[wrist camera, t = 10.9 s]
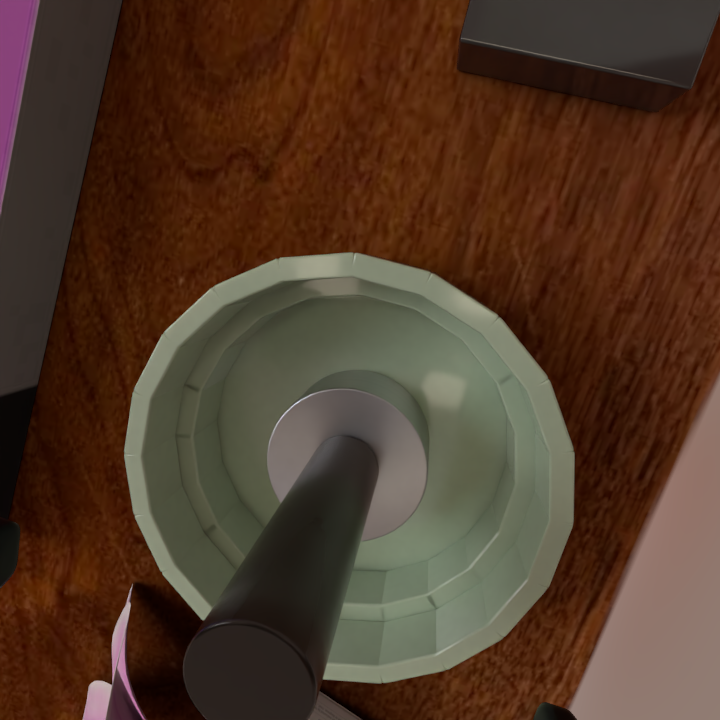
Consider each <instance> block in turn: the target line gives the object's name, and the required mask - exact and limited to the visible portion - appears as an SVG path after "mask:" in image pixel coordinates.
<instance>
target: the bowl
mask: <svg viewBox="0 0 720 720" xmlns="http://www.w3.org/2000/svg"><path fill="white" fill-rule="evenodd" d="M347 370H365V371H370V372H375V373H378V374H381V375H384V376H386V377H388V378H390V379H392V380H394V381H395V382H397V383H398V384H400V385H401V386H402V387H404V388H405V389H406V390H407V391H408V392H409V393H410V394H411V395H412V396H413V397H414V399H415V400H416V401H417V403H418V404H419V406H420V408H421V410H422V412H423V414H424V416H425V419H426V422H427V426H428V431H429V463H428V479H427V485H426V489H425V493H424V495H423V498H422V500H421V502H420V504H419V506H418V507H417V509H416V511H415V512H414V513H413V514H412V516H411V517H410V518H409V519H408V520H407V521H406V522H405V523H404V524H403V525H401V526H400V527H399V528H397V529H396V530H394V531H392V532H391V533H389V534H387V535H385V536H382V537H379V538H377V539H373V540H368V541H361V542H360V545H359V549H358V553H357V556H356V560H355V564H354V567H353V571H352V575H351V578H350V582H349V585H348V589H347V593H346V596H345V600H344V604H343V607H342V611H341V615H340V618H339V622H338V626H337V629H336V633H335V636H334V640H333V644H332V647H331V651H330V655H329V658H328V662H327V666H326V669H325V673H324V676H323V679H324V680H337V681H350V682H364V683H377V684H381V683H382V682H383V683H389V682H394V681H399V680H404V679H408V678H413V677H418V676H423V675H427V674H432V673H437V672H442V671H445V670H446V669H447V670H449V669H450V668H452V667H454V666H456V665H458V664H459V663H461V662H463V661H465V660H466V659H468V658H470V657H472V656H474V655H475V654H477V653H479V652H481V651H482V650H484V649H486V648H488V647H489V646H491V645H493V644H495V643H497V642H498V641H500V640H502V639H503V637H505V636H506V635H507V634H508V633H509V632H510V631H511V630H512V628H513V627H514V626H515V625H516V624H517V623H518V622H519V621H520V619H521V618H522V617H523V616H524V615H525V614H526V613H527V612H528V610H529V609H530V608H531V607H532V606H533V605H534V604H535V603H536V601H537V600H538V599H539V598H540V597H541V596H542V595H543V594H544V592H545V591H546V590H547V588H548V587H549V586H550V583H551V580H552V578H553V575H554V573H555V570H556V568H557V565H558V563H559V560H560V558H561V555H562V552H563V550H564V547H565V545H566V542H567V540H568V537H569V535H570V532H571V530H572V527H573V522H574V477H575V452H574V451H573V450H574V447H573V444H572V442H571V439H570V436H569V433H568V430H567V427H566V424H565V421H564V419H563V416H562V413H561V410H560V407H559V404H558V401H557V398H556V396H555V393H554V390H553V387H552V384H551V381H550V380H549V379H548V376H547V375H546V373H545V372H544V371H543V370H542V368H541V367H540V366H539V365H538V363H537V362H536V361H535V360H534V358H533V357H532V356H531V354H530V353H529V352H528V351H527V349H526V348H525V347H524V346H523V344H522V343H521V342H520V341H519V339H518V338H517V337H516V336H515V334H514V333H513V332H512V331H511V329H510V328H509V327H508V326H507V324H506V323H505V322H504V320H503V319H502V318H501V317H499V316H498V314H496V313H495V312H494V311H492V310H491V309H490V308H489V307H487V306H486V305H485V304H483V303H482V302H480V301H479V300H477V299H476V298H474V297H473V296H471V295H470V294H468V293H467V292H465V291H463V290H462V289H460V288H459V287H457V286H456V285H454V284H453V283H451V282H450V281H448V280H446V279H445V278H443V277H442V276H440V275H439V274H437V273H436V272H432V271H431V270H428V269H424V268H420V267H417V266H413V265H409V264H405V263H401V262H397V261H393V260H389V259H385V258H382V257H378V256H373V255H367V254H362V253H354V252H348V253H334V254H321V255H307V256H293V257H281V258H279V259H274V260H272V261H270V262H267V263H265V264H263V265H260V266H258V267H256V268H253V269H251V270H249V271H247V272H244V273H242V274H240V275H237V276H235V277H233V278H230V279H228V280H226V281H223V282H221V283H219V284H217V285H215V286H214V287H212V288H210V289H209V290H208V291H207V292H206V293H205V294H204V295H203V296H202V297H201V298H199V299H198V300H197V301H196V302H195V303H194V304H193V305H192V306H191V307H190V308H189V309H188V310H187V311H186V312H185V313H183V314H182V315H181V316H180V317H179V318H178V319H177V320H176V321H175V322H174V323H173V324H172V325H171V326H170V327H169V328H167V329H166V330H165V332H164V334H162V336H161V338H160V340H159V341H158V343H157V345H156V347H155V349H154V351H153V353H152V355H151V357H150V359H149V361H148V363H147V365H146V367H145V369H144V371H143V372H142V374H141V376H140V378H139V380H138V382H137V384H136V386H135V388H134V392H133V394H132V401H131V407H130V414H129V421H128V428H127V434H126V441H125V448H124V453H125V454H124V459H125V465H126V471H127V477H128V483H129V489H130V495H131V501H132V508H133V514H134V515H135V519H136V521H137V523H138V526H139V528H140V530H141V532H142V534H143V536H144V538H145V540H146V542H147V544H148V546H149V548H150V551H151V553H152V555H153V557H154V559H155V561H156V563H157V565H158V567H159V569H160V571H161V572H162V575H163V576H164V577H165V578H166V579H167V580H168V582H169V583H170V584H171V585H172V586H173V587H174V588H175V590H176V591H177V592H178V593H179V594H180V595H181V597H182V598H183V599H184V600H185V601H186V602H187V603H188V605H189V606H190V607H191V608H192V609H193V610H194V611H195V613H196V614H197V615H198V616H199V617H200V618H201V620H205V618H206V617H207V615H208V614H209V612H210V611H211V609H212V608H213V606H214V605H215V603H216V602H217V600H218V599H219V597H220V595H221V594H222V592H223V591H224V589H225V588H226V586H227V585H228V583H229V582H230V580H231V579H232V577H233V576H234V574H235V573H236V571H237V570H238V568H239V566H240V565H241V563H242V562H243V560H244V559H245V557H246V556H247V554H248V553H249V551H250V550H251V548H252V547H253V545H254V544H255V542H256V541H257V539H258V537H259V536H260V534H261V533H262V531H263V530H264V528H265V527H266V525H267V524H268V522H269V521H270V519H271V518H272V516H273V515H274V513H275V512H276V510H277V509H278V507H279V505H280V504H281V503H280V502H279V500H278V498H277V496H276V494H275V493H274V490H273V488H272V485H271V482H270V478H269V474H268V467H267V451H268V444H269V440H270V437H271V434H272V432H273V429H274V427H275V425H276V424H277V422H278V420H279V419H280V417H281V416H282V415H283V414H284V413H285V411H286V410H287V409H288V408H289V407H290V406H291V405H292V404H293V403H294V402H295V401H296V400H298V399H299V398H300V397H301V396H302V395H303V394H304V393H305V392H306V391H307V390H308V389H309V388H310V387H311V386H312V385H314V384H315V383H316V382H318V381H319V380H321V379H322V378H324V377H327V376H329V375H331V374H334V373H337V372H341V371H347Z"/></svg>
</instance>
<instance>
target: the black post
mask: <svg viewBox="0 0 720 720" xmlns="http://www.w3.org/2000/svg"><path fill="white" fill-rule="evenodd" d="M428 463H429V431H428V426H427V422H426V419H425V416H424V414H423V412H422V410H421V408H420V406H419V404H418V403H417V401H416V400H415V399H414V397H413V396H412V395H411V394H410V393H409V392H408V391H407V390H406V389H405V388H404V387H402V386H401V385H400V384H398V383H397V382H395V381H394V380H392V379H390V378H388V377H386V376H384V375H381V374H378V373H375V372H370V371H365V370H347V371H341V372H337V373H334V374H331V375H329V376H327V377H324V378H322V379H321V380H319V381H318V382H316V383H315V384H314V385H312V386H311V387H310V388H309V389H308V390H307V391H306V392H305V393H304V394H303V395H302V396H301V397H300V398H299V399H298V400H296V401H295V402H294V403H293V404H292V405H291V406H290V407H289V408H288V409H287V410H286V411H285V413H284V414H283V415H282V416H281V417H280V419H279V420H278V422H277V424H276V425H275V427H274V429H273V432H272V434H271V437H270V440H269V444H268V451H267V467H268V474H269V478H270V482H271V485H272V488H273V490H274V493H275V494H276V496H277V498H278V500H279V502H280V503H281V504H280V505H279V507H278V509H277V510H276V512H275V513H274V515H273V516H272V518H271V519H270V521H269V522H268V524H267V525H266V527H265V528H264V530H263V531H262V533H261V534H260V536H259V537H258V539H257V541H256V542H255V544H254V545H253V547H252V548H251V550H250V551H249V553H248V554H247V556H246V557H245V559H244V560H243V562H242V563H241V565H240V566H239V568H238V570H237V571H236V573H235V574H234V576H233V577H232V579H231V580H230V582H229V583H228V585H227V586H226V588H225V589H224V591H223V592H222V594H221V595H220V597H219V599H218V600H217V602H216V603H215V605H214V606H213V608H212V609H211V611H210V612H209V614H208V615H207V617H206V618H205V620H204V621H203V623H202V624H201V626H200V627H199V629H198V631H197V632H196V634H195V635H194V637H193V638H192V640H191V641H190V643H189V645H188V647H187V649H186V652H185V655H184V661H183V679H184V684H185V687H186V691H187V693H188V695H189V697H190V699H191V701H192V702H193V704H194V706H195V707H196V708H197V710H198V711H199V712H200V713H201V714H202V715H203V717H204V718H205V719H207V720H308V719H309V718H310V716H311V714H312V713H313V711H314V708H315V705H316V702H317V698H318V695H319V691H320V687H321V684H322V680H323V676H324V673H325V669H326V666H327V662H328V658H329V655H330V651H331V647H332V644H333V640H334V636H335V633H336V629H337V626H338V622H339V618H340V615H341V611H342V607H343V604H344V600H345V596H346V593H347V589H348V585H349V582H350V578H351V575H352V571H353V567H354V564H355V560H356V556H357V553H358V549H359V545H360V542H361V541H368V540H373V539H377V538H379V537H382V536H385V535H387V534H389V533H391V532H392V531H394V530H396V529H397V528H399V527H400V526H401V525H403V524H404V523H405V522H406V521H407V520H408V519H409V518H410V517H411V516H412V514H413V513H414V512H415V511H416V509H417V507H418V506H419V504H420V502H421V500H422V498H423V495H424V493H425V489H426V485H427V479H428Z"/></svg>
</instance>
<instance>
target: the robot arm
mask: <svg viewBox="0 0 720 720" xmlns="http://www.w3.org/2000/svg"><path fill="white" fill-rule="evenodd" d="M19 540H20V527H19V525H18V524H17V523H16V522H13V521H10V520H7V519H4V518H1V517H0V588H1V587H2V586H3V585H4V584H5V583H6V582H7V581H8V580H9V578H10V577H11V576H12V574H13V572H14V570H15V568H16V565H17V560H18V550H19ZM533 720H577V719H576V718H575V716H574V715H573V714H572V713H571V712H570V711H569V710H567V709H565V708H562V707H559V706H556V705H553V704H550V703H547V702H544V703H541V704H540V706H539V707H538V709H537V711H536V714H535V716H534V719H533Z"/></svg>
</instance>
